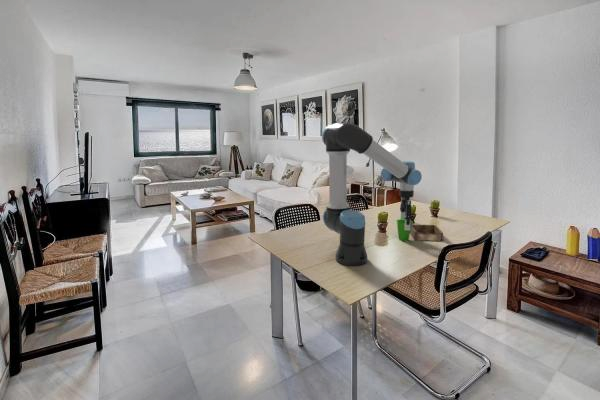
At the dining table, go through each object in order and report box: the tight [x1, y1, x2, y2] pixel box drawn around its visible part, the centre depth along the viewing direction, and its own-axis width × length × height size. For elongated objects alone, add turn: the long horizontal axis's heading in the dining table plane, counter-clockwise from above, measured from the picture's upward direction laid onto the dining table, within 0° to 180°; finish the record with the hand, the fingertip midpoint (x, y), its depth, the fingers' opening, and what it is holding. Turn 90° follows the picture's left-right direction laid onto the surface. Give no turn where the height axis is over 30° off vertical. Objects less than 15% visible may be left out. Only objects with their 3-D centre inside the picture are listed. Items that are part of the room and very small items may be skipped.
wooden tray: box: [410, 223, 444, 242], centre depth 190 cm, size 15×16×5 cm
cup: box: [396, 218, 414, 242], centre depth 184 cm, size 9×9×11 cm
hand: (404, 226), depth 184 cm, fingers open, 13 cm apart
